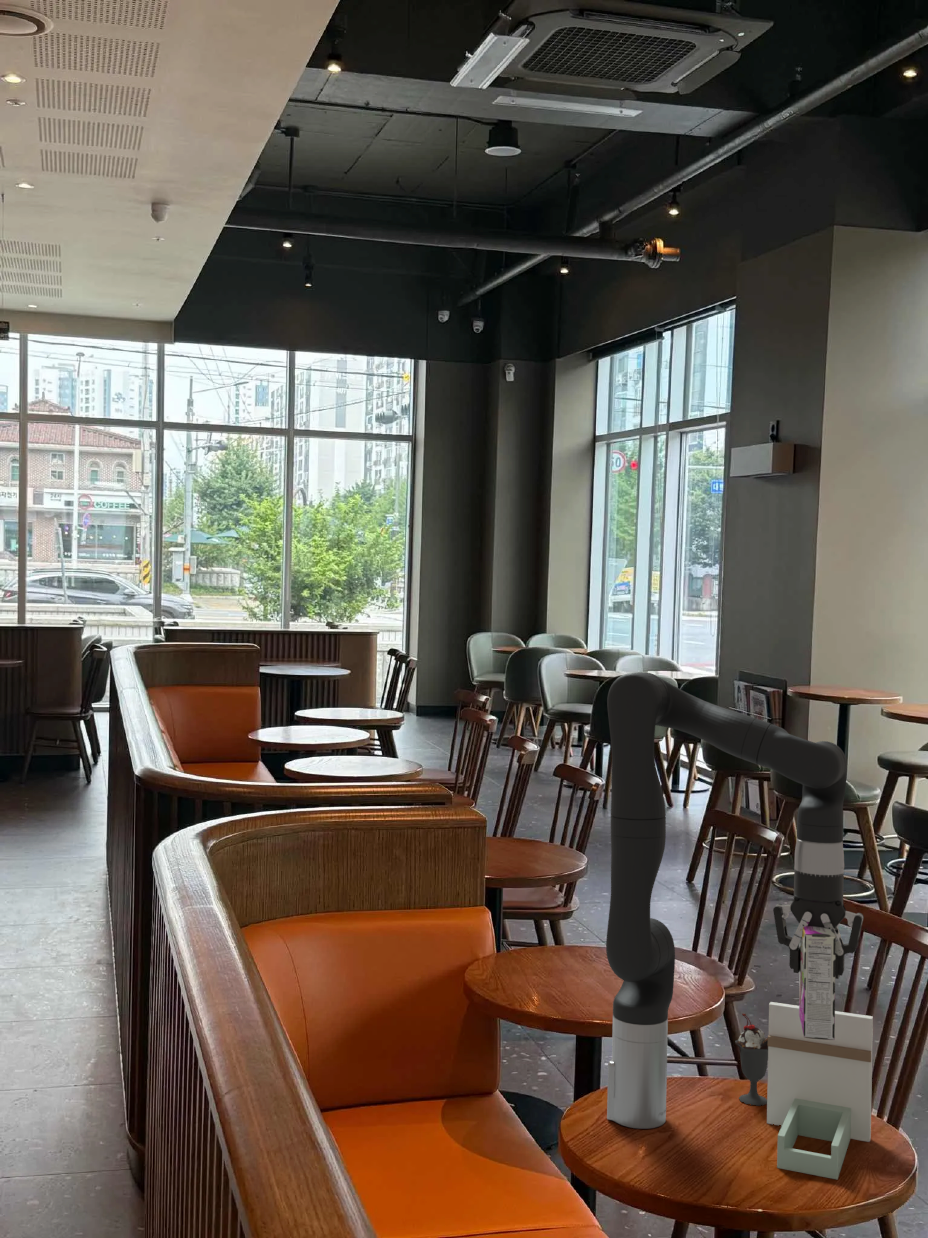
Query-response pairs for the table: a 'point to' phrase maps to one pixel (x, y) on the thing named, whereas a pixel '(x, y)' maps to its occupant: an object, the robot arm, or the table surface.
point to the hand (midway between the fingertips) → (816, 974)
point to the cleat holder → (818, 1088)
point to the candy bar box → (817, 983)
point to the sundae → (753, 1061)
